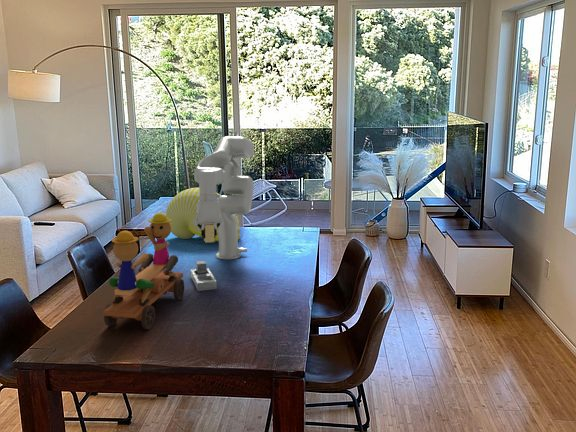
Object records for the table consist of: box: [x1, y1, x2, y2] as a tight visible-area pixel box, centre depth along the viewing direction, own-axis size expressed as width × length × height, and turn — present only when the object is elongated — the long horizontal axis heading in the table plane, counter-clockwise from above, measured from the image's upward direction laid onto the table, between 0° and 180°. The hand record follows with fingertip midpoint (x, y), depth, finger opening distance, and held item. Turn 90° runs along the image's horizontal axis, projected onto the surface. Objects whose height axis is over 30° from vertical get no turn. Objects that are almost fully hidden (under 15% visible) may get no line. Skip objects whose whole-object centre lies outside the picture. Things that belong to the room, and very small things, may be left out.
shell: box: [165, 187, 241, 243], centre depth 322 cm, size 44×31×30 cm
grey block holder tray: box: [190, 267, 218, 292], centre depth 252 cm, size 8×19×4 cm, turn 18°
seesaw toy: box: [102, 212, 185, 331], centre depth 217 cm, size 45×16×36 cm, turn 169°
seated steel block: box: [195, 260, 208, 275], centre depth 256 cm, size 4×4×8 cm
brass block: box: [203, 223, 215, 244], centre depth 259 cm, size 4×4×8 cm
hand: (209, 237), depth 259 cm, fingers closed on brass block, 4 cm apart
